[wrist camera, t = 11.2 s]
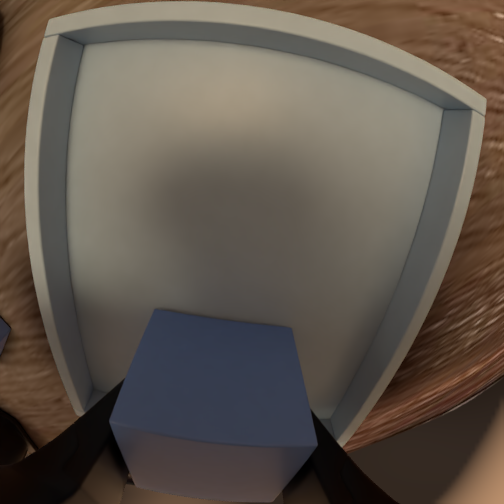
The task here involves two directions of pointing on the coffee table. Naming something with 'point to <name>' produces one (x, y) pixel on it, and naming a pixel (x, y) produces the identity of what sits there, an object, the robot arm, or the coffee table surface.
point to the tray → (242, 189)
